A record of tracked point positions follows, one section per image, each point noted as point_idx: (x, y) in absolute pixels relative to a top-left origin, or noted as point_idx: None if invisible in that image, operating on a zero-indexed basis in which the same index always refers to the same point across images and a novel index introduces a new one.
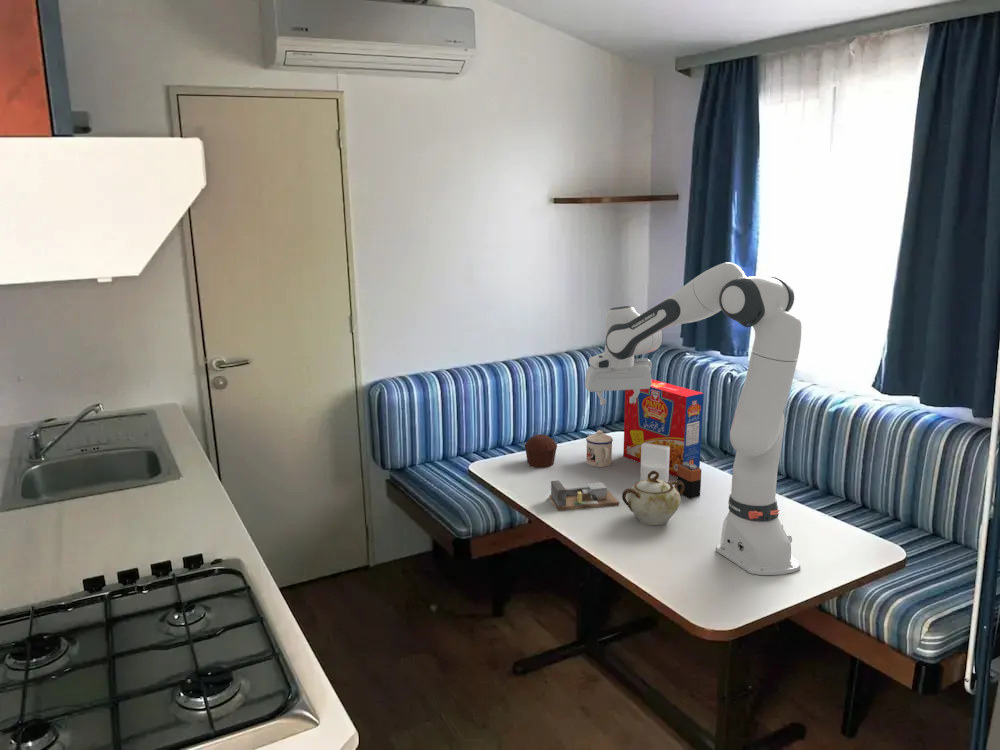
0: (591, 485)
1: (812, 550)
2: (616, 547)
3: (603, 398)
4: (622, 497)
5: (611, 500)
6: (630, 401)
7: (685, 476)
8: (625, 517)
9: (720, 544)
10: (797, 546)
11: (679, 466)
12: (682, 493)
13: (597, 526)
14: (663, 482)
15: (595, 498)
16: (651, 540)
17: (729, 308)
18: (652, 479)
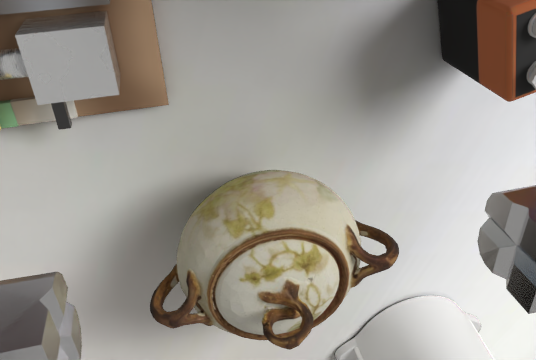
0: (41, 59)
1: (511, 333)
2: (108, 355)
3: (16, 354)
4: (150, 305)
5: (140, 85)
6: (501, 230)
7: (485, 61)
8: (170, 196)
9: (352, 350)
10: (499, 322)
11: (505, 26)
12: (441, 24)
13: (64, 255)
14: (318, 301)
15: (62, 128)
16: None
17: None
18: (283, 304)
